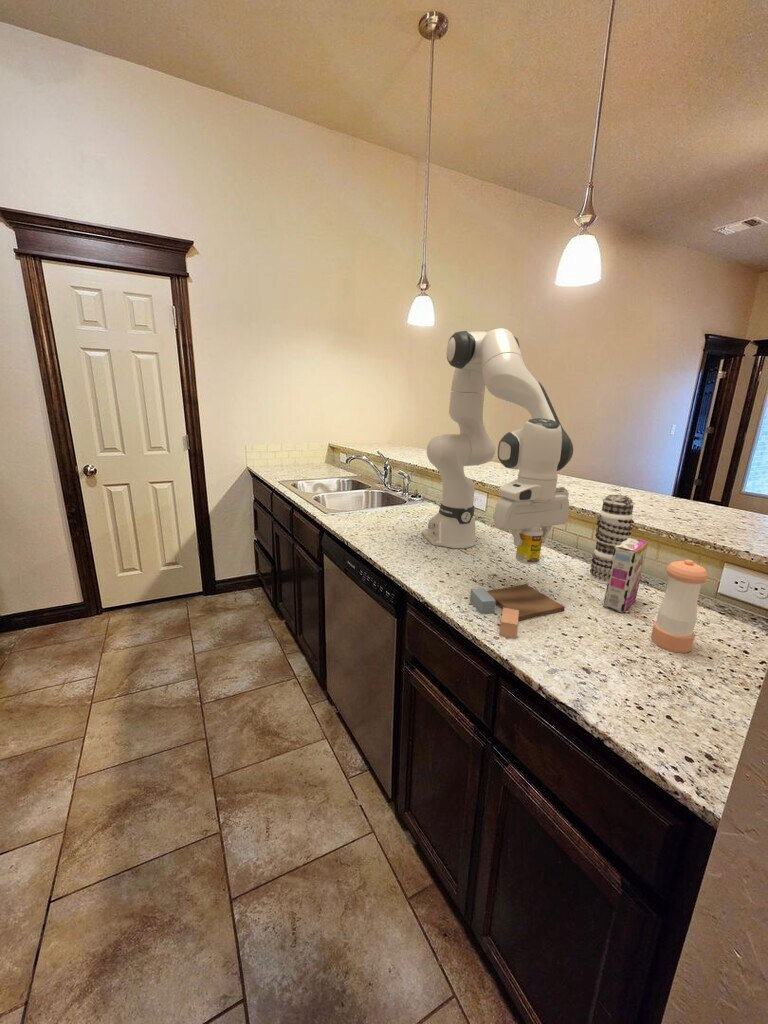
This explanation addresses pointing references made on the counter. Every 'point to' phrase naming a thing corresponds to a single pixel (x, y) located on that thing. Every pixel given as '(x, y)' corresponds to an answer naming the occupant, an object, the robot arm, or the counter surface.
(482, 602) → the brick blue
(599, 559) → the decorative candle
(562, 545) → the counter surface
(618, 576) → the candy bar box
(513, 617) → the brick terracotta
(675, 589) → the pepper shaker
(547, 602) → the board
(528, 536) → the supplement bottle
